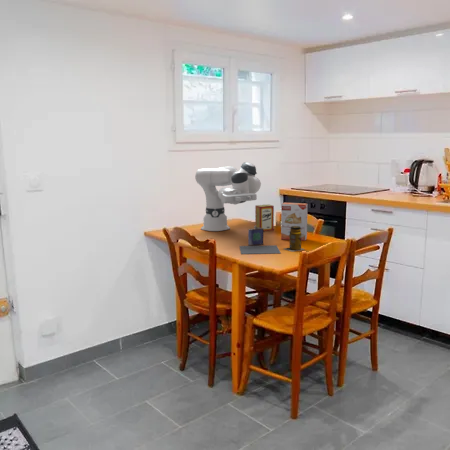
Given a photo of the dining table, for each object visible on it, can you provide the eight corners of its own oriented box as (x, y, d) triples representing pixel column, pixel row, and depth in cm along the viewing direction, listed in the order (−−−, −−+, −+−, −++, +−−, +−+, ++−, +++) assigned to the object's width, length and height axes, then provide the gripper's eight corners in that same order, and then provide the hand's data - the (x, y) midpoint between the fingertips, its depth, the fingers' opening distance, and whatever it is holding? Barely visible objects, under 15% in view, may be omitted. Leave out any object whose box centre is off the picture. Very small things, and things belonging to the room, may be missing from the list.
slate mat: (239, 246, 255) (239, 245, 255) (276, 245, 256) (276, 245, 256) (241, 254, 239) (241, 253, 238) (280, 253, 239) (280, 252, 239)
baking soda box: (260, 231, 295) (260, 206, 292) (255, 229, 301) (255, 204, 298) (273, 230, 298) (273, 205, 295) (268, 228, 304) (268, 203, 301)
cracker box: (280, 239, 271) (281, 203, 267) (283, 237, 276) (283, 202, 272) (305, 241, 266) (305, 204, 262) (307, 239, 271) (307, 203, 268)
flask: (249, 246, 255) (249, 226, 253) (247, 245, 257) (246, 225, 256) (264, 244, 259) (264, 225, 257) (261, 243, 261) (261, 224, 260)
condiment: (304, 249, 247) (305, 227, 244) (292, 251, 242) (292, 228, 240) (295, 247, 253) (295, 224, 250) (283, 249, 248) (283, 226, 246)
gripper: (250, 200, 281) (261, 203, 268) (218, 203, 272) (229, 206, 260) (249, 190, 279) (261, 192, 267) (218, 192, 271) (229, 194, 258)
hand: (245, 199), depth 263 cm, fingers open, 4 cm apart
